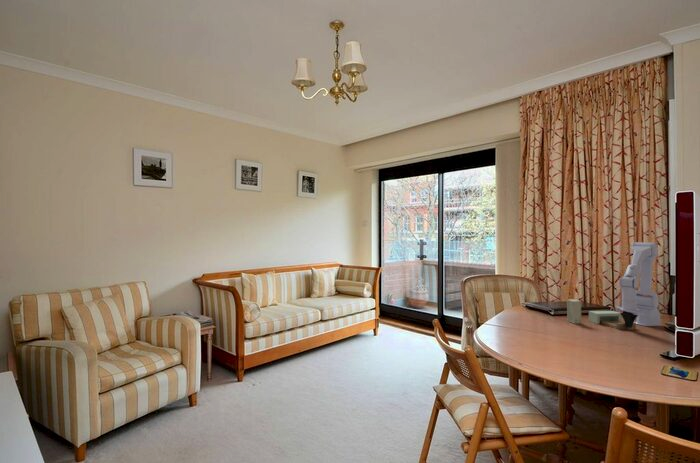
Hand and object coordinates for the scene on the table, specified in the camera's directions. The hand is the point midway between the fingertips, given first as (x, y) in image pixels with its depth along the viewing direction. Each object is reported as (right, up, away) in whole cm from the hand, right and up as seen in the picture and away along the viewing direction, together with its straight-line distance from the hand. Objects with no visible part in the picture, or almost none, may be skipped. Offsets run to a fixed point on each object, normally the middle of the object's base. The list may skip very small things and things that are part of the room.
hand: (629, 327), depth 180 cm
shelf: (-1, -1, +16) cm, 16 cm away
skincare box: (-18, -2, +15) cm, 24 cm away
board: (0, -2, +7) cm, 7 cm away
